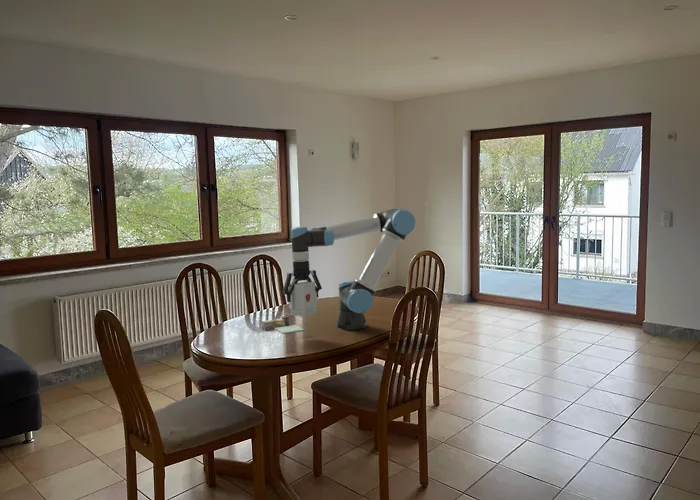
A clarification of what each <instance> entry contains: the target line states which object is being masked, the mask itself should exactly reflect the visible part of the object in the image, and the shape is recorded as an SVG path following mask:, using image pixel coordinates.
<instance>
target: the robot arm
mask: <svg viewBox="0 0 700 500" xmlns="http://www.w3.org/2000/svg"><path fill="white" fill-rule="evenodd" d="M415 227H416V219H415V216H414V214H413V213H412V212H411V211H410V210H408V209H405V208H390V209H387V210H385V211H382V212H378V213H374V214H373V216H368V217H365V218H364V217H363V218H359V219H355V220H349V221H346V222H341V223H340V222H339V223H336V224H335V223H334V224H330V225H326V226H321V227H314V228H311V229H310V230H309V229H308V227H307V226H294V227H292V228H291V232H290V233H291V234H290V235H291V251H292V260H293V261H292V272H287V273H286V279H285V283H284V286H283V289H282V294H284V295H286V302H288V307H289V310H290V309H293V299H292V295H291V293H292V291H293V289H294V285H295V284H297V282H298V281H308V282H312V281H314V282H315V295H316V306H318V298H319V291H320V290H322V289H323V288H322V285H321V283H320V280H319V278H318V275H317V271H316V269H311V270H310V260H309V259H310V254H309V253H310V252H309V248H312V247H313V248H315V247H330V246H333V245H334V244H335V241H336V240H341V239H346V238H350V237H356V236H359V235H360V236H361V235H364V234H369V233H374V232H377V233H379V234H380V233H382V236H381V237H380V239H379V241H378V243H377V244H376V247H375V248H374V250H373V252H372V254H371V256H370V258H369V259H368V262H367V263H366V265H365V267H364V268H363V270H362V273H360V276H359V277H358V278H355V279H354V280H348V281H340V282H339V283H338V302H339V304H338V305H339V306H338V307H339V313H338V316H337V319H336V325H335V326H336V328H338V329H339V330H344V331H356V330H362V329H363V330H364V328H365V329H366V327H367V319H366V316H365V315H364V313H366V312H368V311H369V310H370V309H371V307H372V306H373V302H374V299H373V298H374V296H375V294H376V291H377V290H376V285H377V284H378V282H379V280H380V278H381V276H382V274H383V273H384V271H385V269H386V268H387V265H388V263H389V261H390V260H391V258H392V256H393V254H394V252H395V251H396V249H397V247H398V245H399V243H402V242H404V241H405V239H406V237H407V235H408V234H410V233H412V232H413V231H414V229H415ZM310 275H311V276H312V278H311V277H310ZM292 278H293V279H292ZM312 279H313V280H312ZM291 281H292V282H291ZM290 283H292V285H291V286H290V287H289V285H290Z"/></svg>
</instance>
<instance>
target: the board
mask: <svg viewBox="0 0 700 500" xmlns="http://www.w3.org/2000/svg"><path fill="white" fill-rule="evenodd" d="M266 321H267V320H266ZM271 330H274V328H273V321H267V322H264V329H263V331H271Z"/></svg>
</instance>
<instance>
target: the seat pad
mask: <svg viewBox="0 0 700 500" xmlns="http://www.w3.org/2000/svg"><path fill="white" fill-rule="evenodd" d="M273 330H275V331H276V332H278V333H280V334H282V335H284V334H291V333H298V332H303V331H305V329H304V328H302V327H300V326H298V325H296V324H289V326H283V327H277V328H273Z"/></svg>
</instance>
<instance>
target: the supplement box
mask: <svg viewBox="0 0 700 500" xmlns="http://www.w3.org/2000/svg"><path fill="white" fill-rule="evenodd" d="M291 285H292V282H290V285H289V287H290V286H291ZM315 286H316V284H315V281H314V280H312V282H308V281H307V280H302V281H298V282H297V284H295V285H294V289H293V291H292V293H291V295H292V299H293V309H290V308H289V315H291V316H299V317H308V316H311V315H314V314H316V313H317V305H316V295H315Z"/></svg>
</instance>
